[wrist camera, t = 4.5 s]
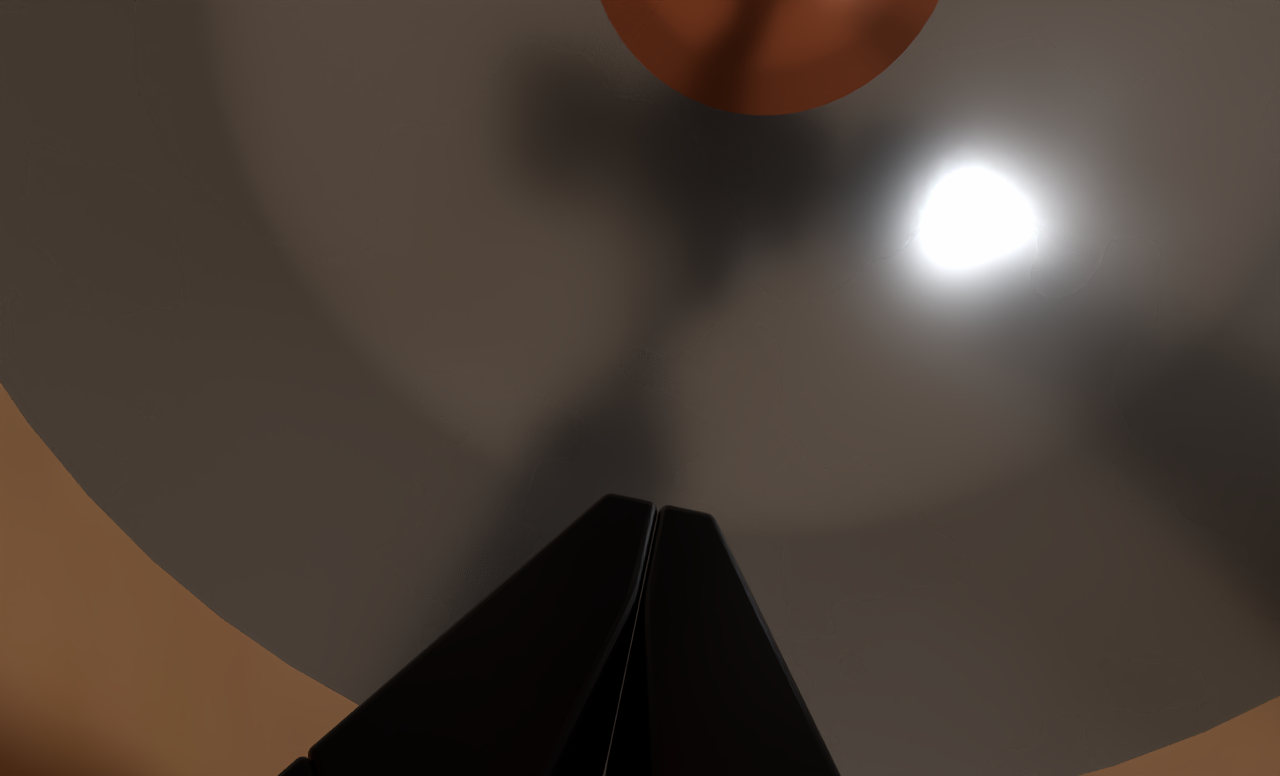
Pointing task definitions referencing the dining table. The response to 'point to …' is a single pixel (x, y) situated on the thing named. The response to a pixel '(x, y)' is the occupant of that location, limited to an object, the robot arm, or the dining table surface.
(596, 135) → the lid
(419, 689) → the robot arm
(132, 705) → the dining table surface
